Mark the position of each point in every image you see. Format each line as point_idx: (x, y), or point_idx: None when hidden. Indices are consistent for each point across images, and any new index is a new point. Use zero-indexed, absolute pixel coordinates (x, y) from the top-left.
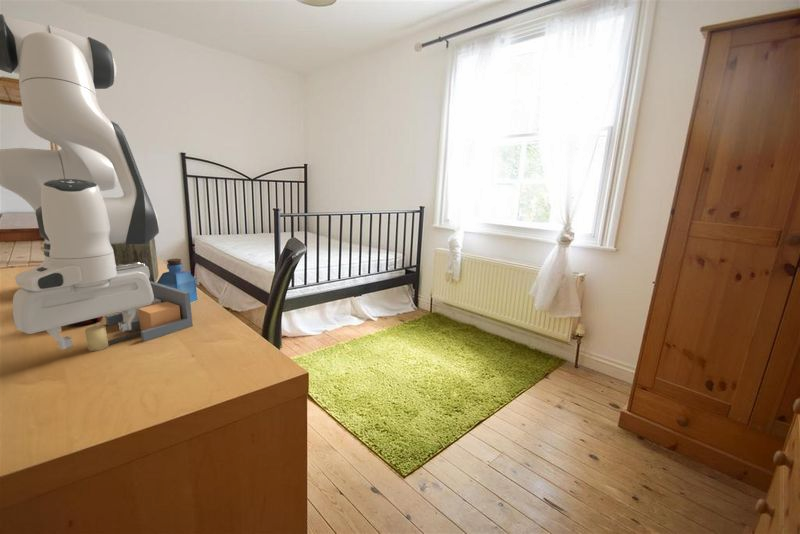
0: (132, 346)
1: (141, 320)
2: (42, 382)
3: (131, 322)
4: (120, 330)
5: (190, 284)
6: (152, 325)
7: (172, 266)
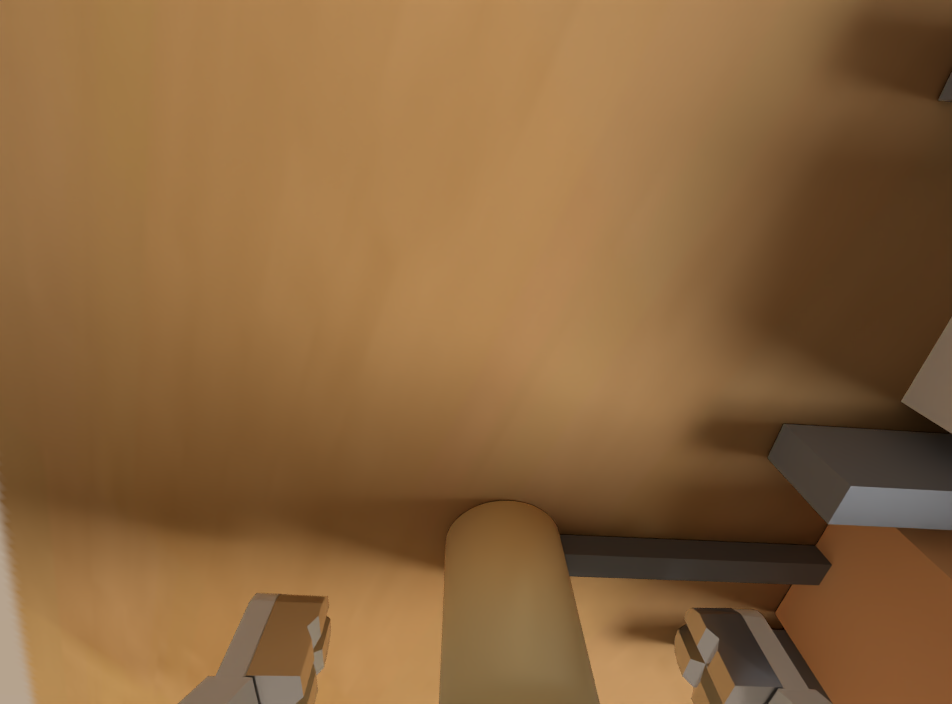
0: (603, 649)
1: (922, 606)
2: (162, 685)
3: (895, 521)
4: (689, 616)
5: None
6: (835, 697)
7: None
